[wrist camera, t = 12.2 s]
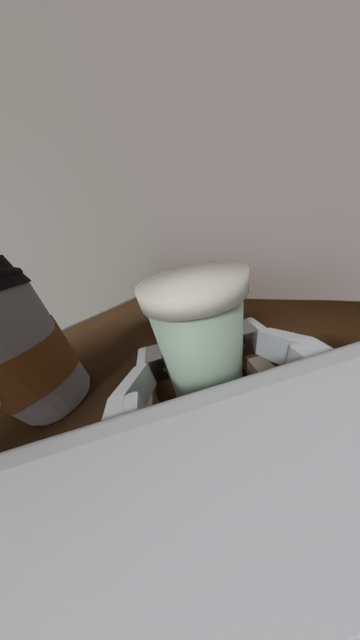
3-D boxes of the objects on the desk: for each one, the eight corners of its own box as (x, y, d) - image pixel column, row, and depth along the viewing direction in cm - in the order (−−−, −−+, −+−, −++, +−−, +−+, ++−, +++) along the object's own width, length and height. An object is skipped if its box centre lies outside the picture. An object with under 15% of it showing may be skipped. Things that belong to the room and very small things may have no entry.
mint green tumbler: (186, 450, 10) (125, 311, 4) (174, 383, 14) (138, 277, 9) (260, 425, 10) (283, 269, 5) (225, 368, 15) (217, 257, 10)
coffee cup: (2, 427, 15) (-217, 296, 8) (73, 365, 22) (-11, 263, 14) (46, 455, 12) (-252, 281, 5) (114, 373, 19) (33, 247, 11)
